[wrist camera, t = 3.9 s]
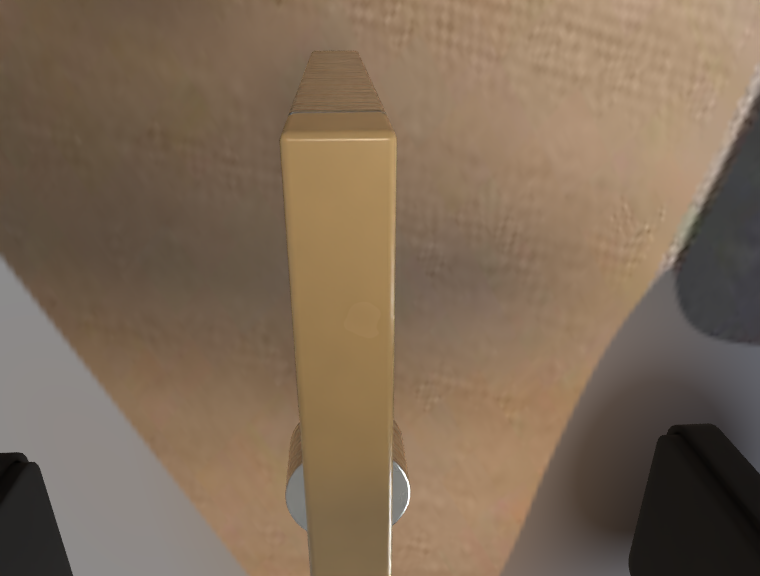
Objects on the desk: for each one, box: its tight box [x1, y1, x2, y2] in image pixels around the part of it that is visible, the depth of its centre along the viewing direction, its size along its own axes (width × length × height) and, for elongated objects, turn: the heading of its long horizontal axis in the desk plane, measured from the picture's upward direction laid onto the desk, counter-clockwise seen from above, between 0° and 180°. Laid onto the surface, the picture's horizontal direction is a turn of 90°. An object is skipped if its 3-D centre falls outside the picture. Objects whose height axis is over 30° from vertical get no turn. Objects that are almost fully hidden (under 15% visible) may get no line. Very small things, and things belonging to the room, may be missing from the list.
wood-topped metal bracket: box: [279, 51, 410, 576], centre depth 12 cm, size 12×3×8 cm, turn 0°
